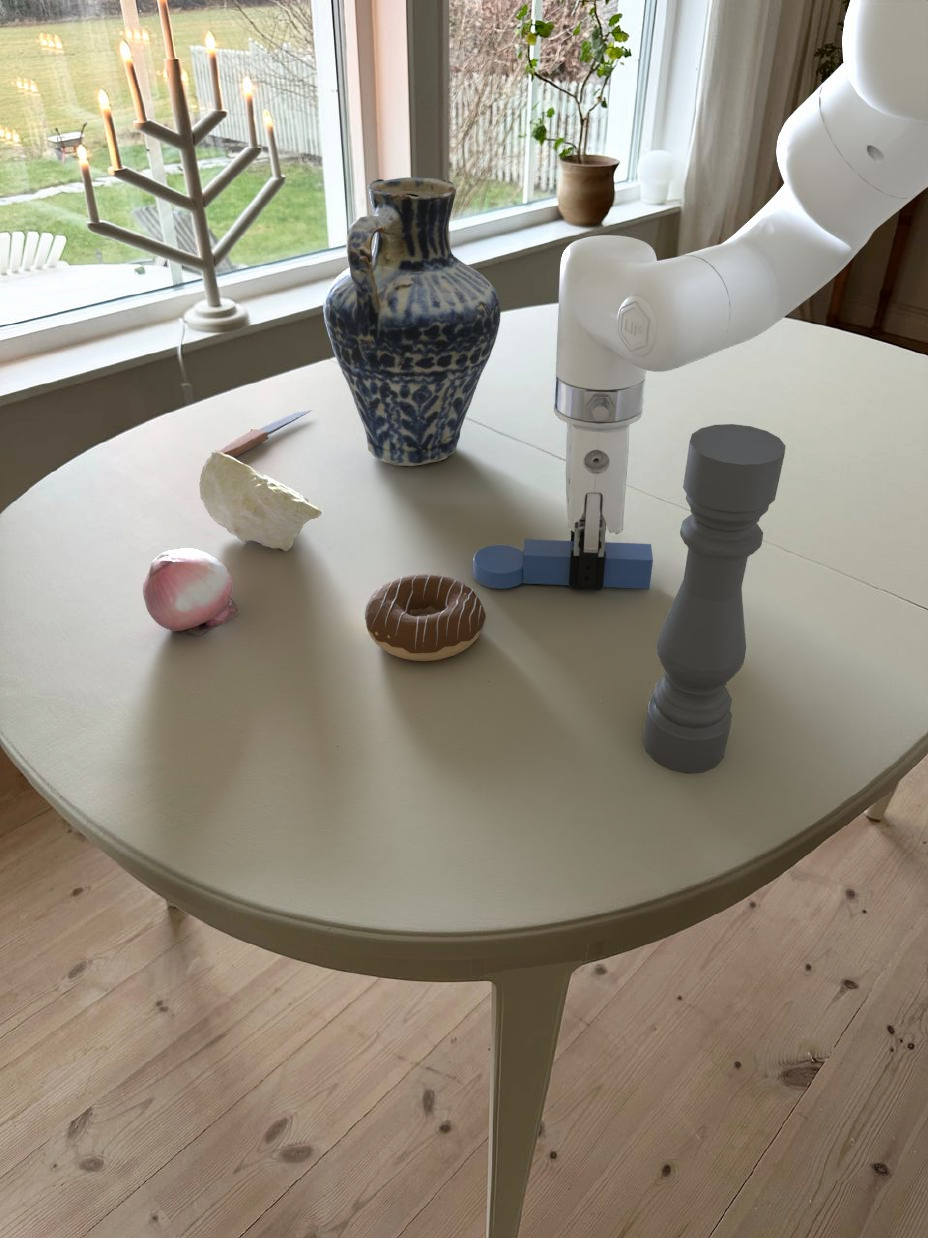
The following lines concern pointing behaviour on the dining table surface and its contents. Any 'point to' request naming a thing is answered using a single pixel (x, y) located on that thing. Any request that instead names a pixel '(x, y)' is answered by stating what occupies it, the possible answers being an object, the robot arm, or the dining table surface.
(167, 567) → the onion
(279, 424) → the knife
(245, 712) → the dining table surface
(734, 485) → the candle holder
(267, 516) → the cheese
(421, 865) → the dining table surface
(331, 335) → the jug
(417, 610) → the donut
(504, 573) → the spoon
